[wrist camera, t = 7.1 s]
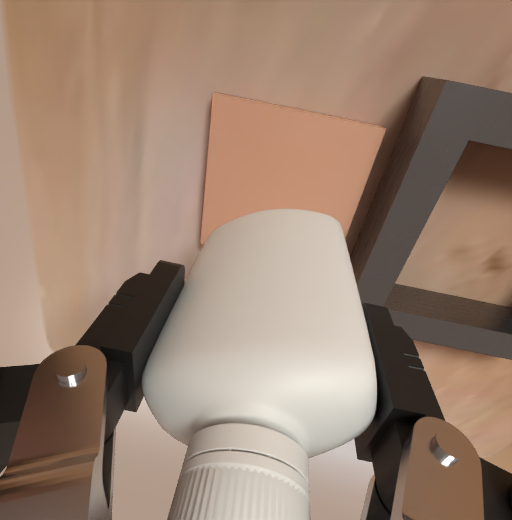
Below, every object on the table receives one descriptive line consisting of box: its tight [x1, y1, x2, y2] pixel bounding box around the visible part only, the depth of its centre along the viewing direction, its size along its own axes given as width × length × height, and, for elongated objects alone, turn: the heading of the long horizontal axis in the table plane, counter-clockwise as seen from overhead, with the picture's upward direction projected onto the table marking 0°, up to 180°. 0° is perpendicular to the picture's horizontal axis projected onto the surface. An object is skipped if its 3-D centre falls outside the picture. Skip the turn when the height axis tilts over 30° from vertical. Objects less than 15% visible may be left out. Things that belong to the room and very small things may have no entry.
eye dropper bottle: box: [142, 209, 377, 520], centre depth 9 cm, size 4×6×12 cm
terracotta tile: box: [200, 93, 386, 245], centre depth 19 cm, size 9×9×1 cm
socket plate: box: [350, 77, 512, 360], centre depth 18 cm, size 14×14×3 cm
